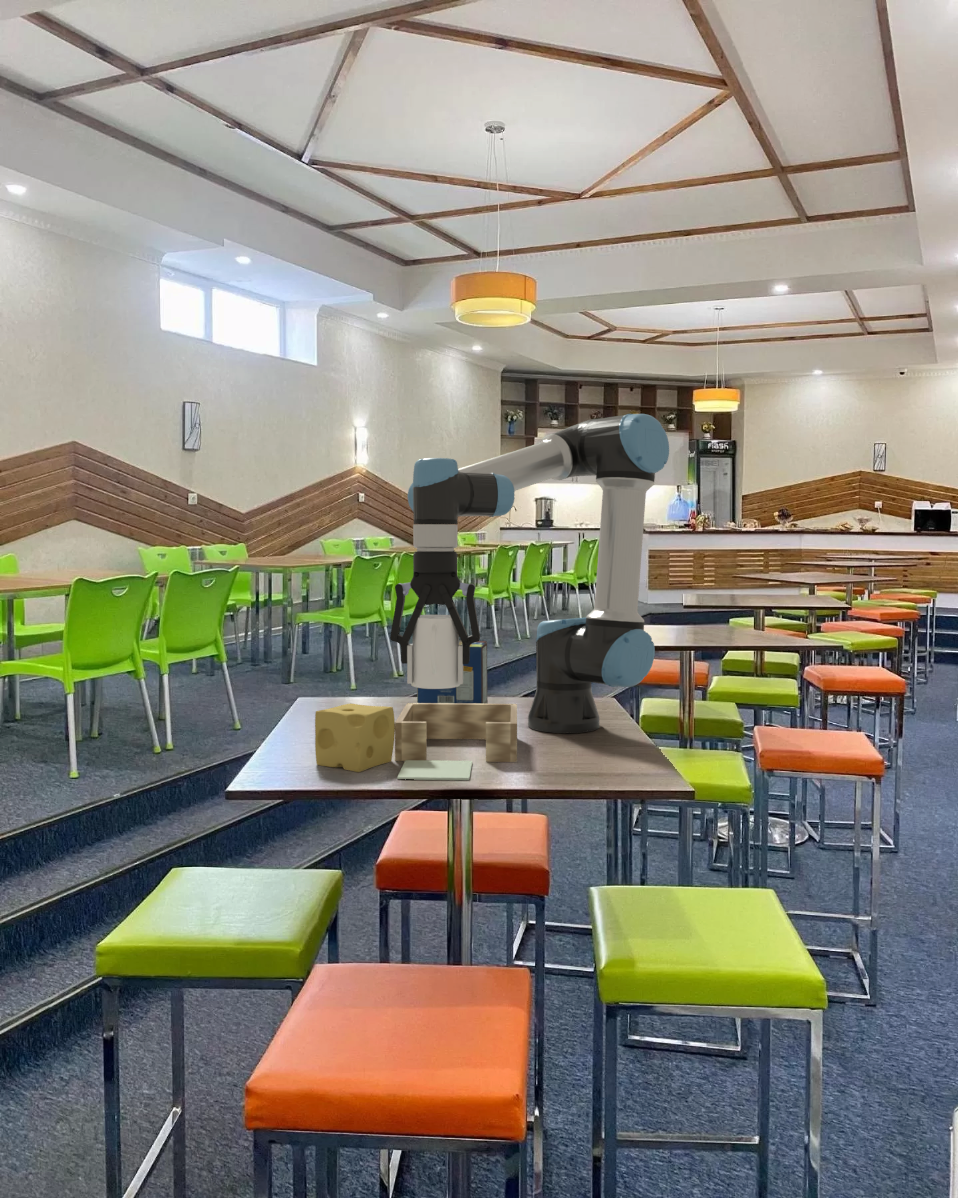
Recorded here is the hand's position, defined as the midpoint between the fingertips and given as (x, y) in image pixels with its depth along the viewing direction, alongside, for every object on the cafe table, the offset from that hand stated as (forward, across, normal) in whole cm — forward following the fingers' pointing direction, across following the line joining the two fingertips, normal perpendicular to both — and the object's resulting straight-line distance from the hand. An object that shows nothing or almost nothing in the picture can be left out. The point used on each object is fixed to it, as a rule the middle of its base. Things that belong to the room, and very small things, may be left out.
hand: (435, 682), depth 164 cm
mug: (+1, 0, 0) cm, 1 cm away
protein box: (+16, +1, -60) cm, 62 cm away
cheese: (+16, +15, -6) cm, 22 cm away
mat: (+15, 0, 0) cm, 15 cm away
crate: (+15, -3, -17) cm, 23 cm away
